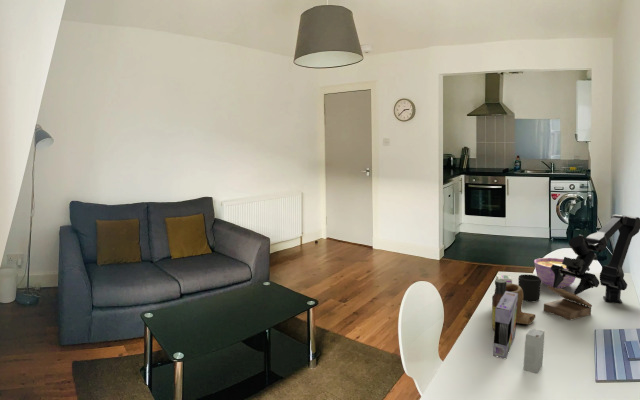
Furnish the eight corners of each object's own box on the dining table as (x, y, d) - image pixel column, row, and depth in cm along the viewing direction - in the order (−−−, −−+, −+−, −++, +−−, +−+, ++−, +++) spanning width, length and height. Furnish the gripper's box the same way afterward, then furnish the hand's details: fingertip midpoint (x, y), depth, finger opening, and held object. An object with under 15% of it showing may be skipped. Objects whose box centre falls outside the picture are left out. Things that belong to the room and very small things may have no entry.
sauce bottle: (509, 329, 172) (511, 279, 169) (510, 335, 166) (512, 284, 163) (490, 327, 174) (492, 277, 171) (491, 333, 168) (493, 282, 166)
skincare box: (528, 362, 146) (530, 327, 144) (543, 366, 143) (545, 330, 141) (522, 370, 141) (524, 333, 139) (538, 374, 138) (539, 337, 137)
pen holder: (544, 299, 203) (545, 278, 202) (533, 303, 198) (534, 281, 197) (524, 293, 211) (525, 273, 210) (513, 298, 206) (514, 276, 204)
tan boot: (489, 322, 178) (490, 286, 176) (496, 313, 188) (497, 278, 186) (531, 330, 170) (532, 292, 168) (535, 320, 180) (537, 284, 178)
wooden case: (564, 305, 195) (564, 298, 195) (590, 314, 185) (591, 307, 184) (543, 310, 190) (543, 303, 190) (569, 320, 179) (570, 313, 179)
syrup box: (512, 312, 188) (513, 279, 186) (497, 311, 189) (498, 278, 187) (509, 307, 194) (510, 275, 192) (494, 307, 195) (495, 274, 193)
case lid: (564, 298, 195) (565, 295, 195) (591, 307, 184) (592, 304, 184) (547, 288, 190) (548, 284, 190) (574, 296, 179) (575, 293, 179)
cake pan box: (507, 361, 147) (509, 309, 145) (491, 357, 150) (492, 306, 147) (516, 339, 163) (518, 292, 161) (501, 336, 166) (503, 290, 164)
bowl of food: (527, 279, 233) (528, 257, 232) (568, 280, 230) (569, 258, 229) (541, 291, 214) (542, 268, 212) (585, 292, 211) (587, 269, 209)
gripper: (554, 245, 193) (535, 274, 190) (596, 255, 177) (576, 286, 173) (565, 261, 198) (547, 289, 195) (608, 271, 181) (588, 302, 178)
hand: (563, 291), depth 185 cm, fingers open, 9 cm apart
